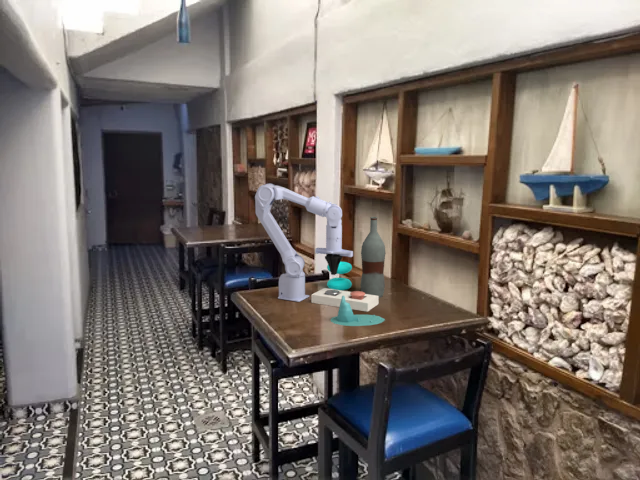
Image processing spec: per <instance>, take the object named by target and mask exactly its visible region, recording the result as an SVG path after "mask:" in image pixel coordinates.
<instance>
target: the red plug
mask: <svg viewBox="0 0 640 480" xmlns="http://www.w3.org/2000/svg"><path fill="white" fill-rule="evenodd" d="M350 292H351V293H350V295H351V296H352V299H358V300H362V299H363V296H364V295H365V293H364V292H362V291H361V290H353V291H350Z"/></svg>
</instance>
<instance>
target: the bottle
mask: <svg viewBox="0 0 640 480" xmlns="http://www.w3.org/2000/svg"><path fill="white" fill-rule="evenodd" d="M369 225H370V227H369V233H368V234H367V236H366V238H365V239H364V240H363V242H362V243H361V244H362V245H361V251H360V256H361V271H362V272H361V273H362V274H361V279H360V291H362V292H364V293H365V294H369V295H376V296H379V299H381V298H383V296H384V293H385V287H386V284H385V274H384V270H385V261H386V245H385V242H384V241H383V239H382V237H381V235H380V234H379V232H378V217H377V216H371V217H370V224H369Z"/></svg>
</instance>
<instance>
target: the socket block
mask: <svg viewBox="0 0 640 480" xmlns="http://www.w3.org/2000/svg"><path fill="white" fill-rule="evenodd" d="M327 290H335V289H330V288H329V287H323V288H321V289H320V290H318V291H316V292H314V293H312V294H311V297H310V298H311V303H312V304H317V305H318V304H319V305H324V306H331V307H337V308H339V307H340V303H341V299H342V296H345V301H346V302H347V303H350V306H351V309H352V310H353V311H360V312H361V311H362V312H366V313H368V312H370V311H371V310H372V309H373V308H375V307H376V306H378V305H379V304H380V303H379V302H380V301H379V299H380V298H379V296H376V295H369V294H365V295H364V296H363V299H362V300H358V299H352V296H351V295H350V293H351V292H352V291H348V290H338V291H340V294H338V295H337V296H331V295H327V294H326V293H325V291H327Z"/></svg>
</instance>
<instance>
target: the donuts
mask: <svg viewBox="0 0 640 480" xmlns="http://www.w3.org/2000/svg"><path fill="white" fill-rule="evenodd" d="M326 268H327V269H326V270H327V271H328V272H330V268H329V265H328V264H327V266H326ZM352 269H353V266H352V264H351V263H349V262H347V261H340V263H339V266H338V270H337V274H336V275H343V274H348V273H350V272H351V271H352ZM326 283H327V284H326V286H327V288H328V289H335V290H342V291H348V290H349V289H350V288H352V286H353V283H352V281H351V280H350V279H349V278H345V277H333V278H330V279H329V280H328V281H327V282H326Z"/></svg>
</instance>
